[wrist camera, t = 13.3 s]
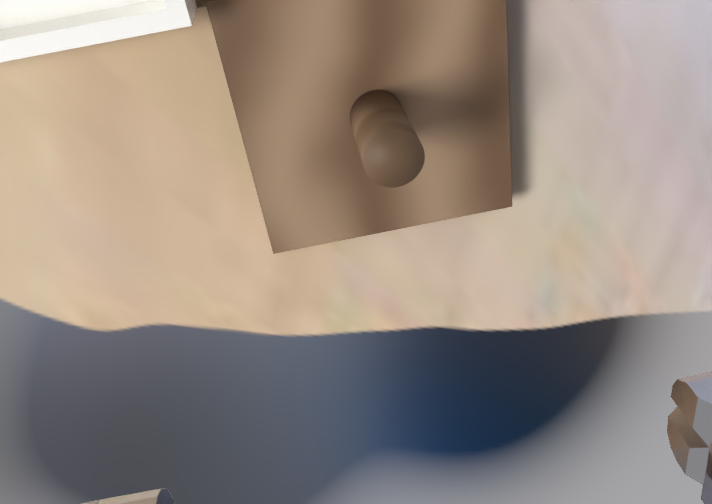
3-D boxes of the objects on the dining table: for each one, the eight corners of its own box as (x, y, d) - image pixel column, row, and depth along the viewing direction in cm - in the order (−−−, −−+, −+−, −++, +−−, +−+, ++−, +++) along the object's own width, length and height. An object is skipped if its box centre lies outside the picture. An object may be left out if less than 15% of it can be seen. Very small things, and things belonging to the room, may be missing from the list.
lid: (499, -58, 29) (546, -35, 24) (507, 199, 36) (545, 256, 31) (206, -2, 29) (196, 32, 24) (273, 245, 36) (275, 310, 31)
